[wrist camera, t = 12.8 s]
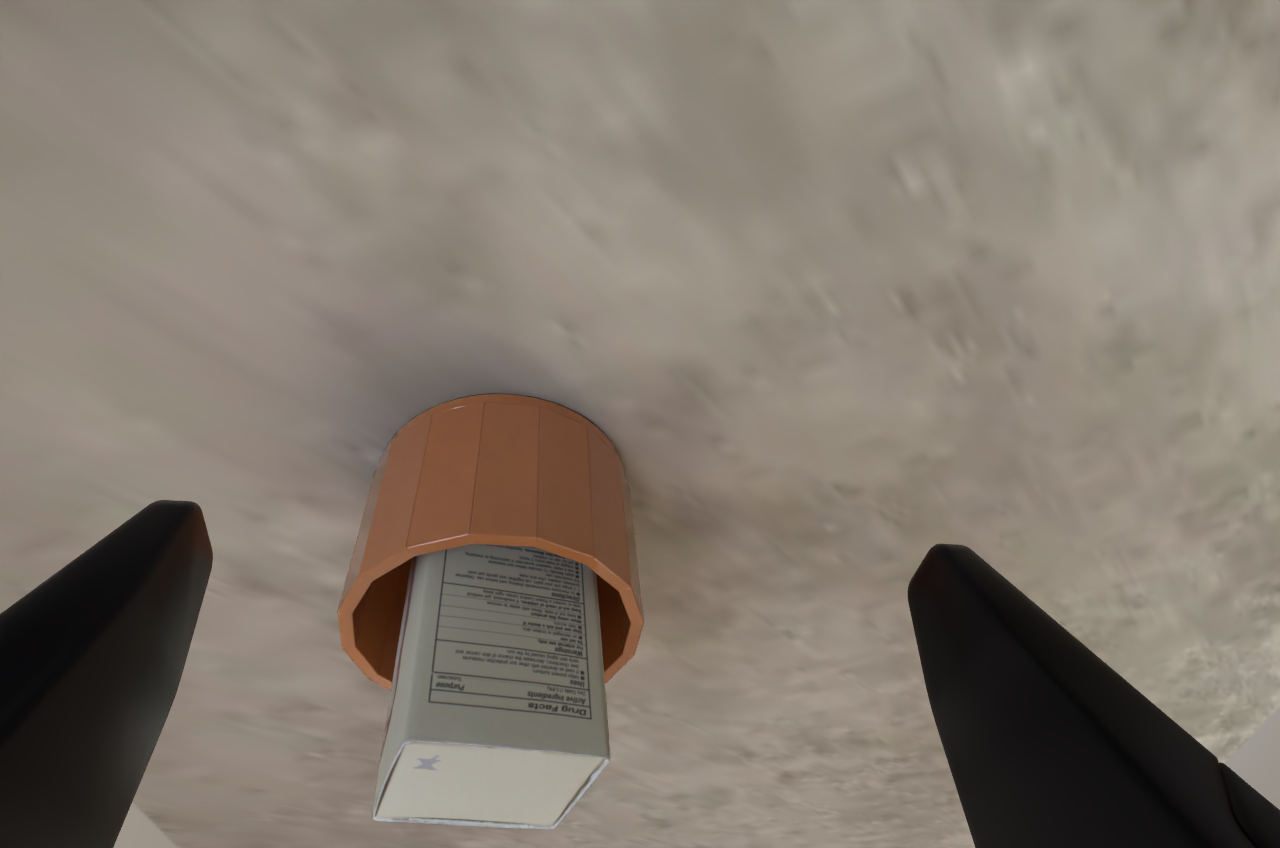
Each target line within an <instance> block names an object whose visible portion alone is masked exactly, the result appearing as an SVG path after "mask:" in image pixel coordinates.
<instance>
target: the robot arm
mask: <svg viewBox="0 0 1280 848" xmlns="http://www.w3.org/2000/svg"><path fill="white" fill-rule="evenodd" d="M212 560H213V553H212V547H211V543H210V540H209V536H208V532H207V528H206V524H205V521H204V517H203V513H202V510H201V508H200V507H199V505H198V504H196V503H194V502H190V501H172V500H159V501H156V502H154V503H151V504H150V505H148V506H147V507H146V508H144V509H143V510H141V511H140V512H139V513H137V514H136V515H135V516H133V517H132V518H131V519H129V520H128V521H126V522H125V523H124V524H122V525H121V526H120V527H118V528H117V529H116V530H114V531H113V532H111V533H110V534H109V535H107V536H106V537H105V538H103V539H102V540H101V541H99V542H98V543H96V544H95V545H94V546H92V547H91V548H90V549H88V550H87V551H86V552H84V553H83V554H81V555H80V556H79V557H77V558H76V559H75V560H73V561H72V562H71V563H69V564H68V565H66V566H65V567H64V568H62V569H61V570H60V571H58V572H57V573H56V574H54V575H53V576H51V577H50V578H49V579H47V580H46V581H45V582H43V583H42V584H41V585H39V586H38V587H37V588H35V589H34V590H32V591H31V592H30V593H28V594H27V595H26V596H24V597H23V598H22V599H20V600H19V601H17V602H16V603H15V604H13V605H12V606H11V607H9V608H8V609H7V610H5V611H4V612H2V613H1V614H0V848H113V847H114V844H115V842H116V839H117V837H118V835H119V832H120V830H121V827H122V825H123V823H124V820H125V818H126V815H127V813H128V810H129V808H130V806H131V803H132V801H133V798H134V796H135V794H136V791H137V789H138V786H139V784H140V781H141V779H142V777H143V774H144V772H145V769H146V767H147V765H148V762H149V760H150V757H151V755H152V753H153V750H154V748H155V745H156V743H157V740H158V738H159V736H160V733H161V731H162V728H163V726H164V724H165V721H166V719H167V716H168V714H169V711H170V708H171V706H172V703H173V701H174V698H175V695H176V692H177V689H178V686H179V682H180V679H181V676H182V672H183V669H184V665H185V662H186V658H187V654H188V651H189V647H190V644H191V640H192V637H193V633H194V629H195V626H196V622H197V619H198V615H199V612H200V608H201V605H202V601H203V597H204V594H205V590H206V587H207V583H208V580H209V576H210V572H211V568H212ZM908 602H909V607H910V612H911V617H912V622H913V626H914V631H915V636H916V641H917V645H918V650H919V655H920V660H921V665H922V669H923V674H924V679H925V684H926V689H927V693H928V697H929V701H930V705H931V709H932V712H933V715H934V719H935V722H936V726H937V729H938V732H939V735H940V738H941V741H942V744H943V747H944V751H945V754H946V757H947V760H948V763H949V766H950V769H951V772H952V776H953V779H954V782H955V785H956V788H957V791H958V794H959V797H960V801H961V804H962V807H963V810H964V813H965V816H966V819H967V823H968V826H969V829H970V832H971V835H972V838H973V841H974V844H975V848H1280V810H1279V809H1278V808H1276V807H1275V806H1274V805H1273V804H1272V803H1270V802H1269V801H1268V800H1267V799H1266V798H1264V797H1263V796H1262V795H1261V794H1259V793H1258V792H1257V791H1256V790H1255V789H1253V788H1252V787H1251V786H1250V785H1248V783H1246V782H1245V781H1244V780H1243V779H1242V778H1241V777H1239V776H1238V775H1237V774H1236V773H1235V772H1233V771H1232V770H1231V769H1230V768H1229V767H1227V766H1226V765H1225V764H1224V763H1218V759H1217V758H1216V757H1215V756H1214V755H1213V754H1212V753H1211V752H1210V751H1208V750H1207V749H1206V748H1205V747H1204V746H1203V745H1201V744H1200V743H1199V742H1198V741H1197V740H1195V739H1194V738H1193V737H1192V736H1191V735H1190V734H1188V733H1187V732H1186V731H1185V730H1184V729H1182V728H1181V727H1180V726H1179V725H1178V724H1177V723H1175V722H1174V721H1173V720H1172V719H1171V718H1169V717H1168V716H1167V715H1166V714H1165V713H1164V712H1162V711H1161V710H1160V709H1159V708H1158V707H1156V706H1155V705H1154V704H1153V703H1152V702H1151V701H1149V700H1148V699H1147V698H1146V697H1145V696H1144V695H1142V694H1141V693H1140V692H1139V691H1138V690H1136V689H1135V688H1134V687H1133V686H1132V685H1131V684H1129V683H1128V682H1127V681H1126V680H1125V679H1123V678H1122V677H1121V676H1120V675H1119V674H1118V673H1116V672H1115V671H1114V670H1113V669H1112V668H1110V667H1109V666H1108V665H1107V664H1106V663H1105V662H1103V661H1102V660H1101V659H1100V658H1099V657H1097V656H1096V655H1095V654H1094V653H1093V652H1092V651H1090V650H1089V649H1088V648H1087V647H1086V646H1084V645H1083V644H1082V643H1081V642H1080V641H1079V640H1077V639H1076V638H1075V637H1074V636H1073V635H1071V634H1070V633H1069V632H1068V631H1067V630H1066V629H1064V628H1063V627H1062V626H1061V625H1060V624H1058V623H1057V622H1056V621H1055V620H1054V619H1053V618H1051V617H1050V616H1049V615H1048V614H1047V613H1046V612H1044V611H1043V610H1042V609H1041V608H1040V607H1038V606H1037V605H1036V604H1035V603H1034V602H1033V601H1031V600H1030V599H1029V598H1028V597H1027V596H1025V595H1024V594H1023V593H1022V592H1021V591H1020V590H1018V589H1017V588H1016V587H1015V586H1014V585H1012V584H1011V583H1010V582H1009V581H1008V580H1007V579H1005V578H1004V577H1003V576H1002V575H1001V574H999V573H998V572H997V571H996V570H995V569H994V568H992V567H991V566H990V565H989V564H988V563H986V562H985V561H984V560H983V559H982V558H981V557H979V556H978V555H977V554H976V553H975V552H973V551H972V550H971V549H970V548H968V547H966V546H963V545H954V544H936V545H935V546H933V547H932V548H931V549H930V550H929V551H928V553H927V555H926V556H925V558H924V559H923V561H922V563H921V564H920V566H919V568H918V569H917V571H916V572H915V574H914V576H913V577H912V579H911V581H910V583H909V587H908Z"/></svg>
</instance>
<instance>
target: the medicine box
mask: <svg viewBox="0 0 1280 848" xmlns="http://www.w3.org/2000/svg"><path fill="white" fill-rule="evenodd" d="M609 762H610V747H609V729H608V718H607V702H606V691H605V680H604V666H603V656H602V641H601V629H600V613H599V603H598V590H597V580H596V573H595V572H594V571H592V570H591V569H590V568H589V567H588V566H586V565H585V564H582V563H579V562H576V561H573V560H570V559H567V558H564V557H561V556H558V555H555V554H553V553H550V552H547V551H544V550H541V549H538V548H535V547H524V546H504V545H484V544H469V545H465V546H460V547H456V548H451V549H446V550H442V551H437V552H433V553H428V554H423V555H419V556H414V557H413V558H411V564H410V570H409V577H408V583H407V590H406V597H405V603H404V610H403V616H402V623H401V629H400V635H399V642H398V648H397V654H396V661H395V667H394V674H393V680H392V687H391V693H390V700H389V706H388V712H387V719H386V726H385V733H384V740H383V746H382V752H381V759H380V766H379V773H378V779H377V786H376V792H375V798H374V805H373V813H372V818H373V819H374V820H376V821H386V822H387V821H390V822H412V823H414V822H417V823H429V824H446V825H462V826H486V827H504V828H534V829H537V828H540V829H548V830H553V829H554V828H555V827H556V826H557V825H558V823H559V822H560V821H561V820H562V818H563V817H565V815H566V814H567V813H568V812H569V811H570V810H571V809H572V807H573V806H574V805H575V804H576V803H577V801H578V800H579V799H580V798H581V797H582V795H583V794H584V793H585V792H586V790H587V789H588V788H589V787H590V786H591V785H592V783H593V782H594V781H595V780H596V778H597V777H598V776H599V774H600V773H601V772H602V771H603V769H604V768H605V767H606V766H607V764H608V763H609Z"/></svg>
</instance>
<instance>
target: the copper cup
mask: <svg viewBox="0 0 1280 848" xmlns="http://www.w3.org/2000/svg"><path fill="white" fill-rule="evenodd" d="M469 544H484V545H504V546H524V547H535V548H538V549H541V550H544V551H547V552H550V553H553V554H555V555H558V556H561V557H564V558H567V559H570V560H573V561H576V562H579V563H582V564H585V565H586V566H588V567H589V568H590V569H591V570H592V571H594V572H595V573H596V580H597V590H598V603H599V613H600V629H601V641H602V656H603V666H604V680H605V683H607V682H608V681H609V680H610V679H611V678H612V677H613V676H614V675H615V674H616V673H617V672H618V671H619V670H620V669H621V668H622V667H623V666H624V665H625V664H626V663H627V662H628V661H629V660H630V659H631V658H632V657H633V656H634V655H635V651H636V648H637V645H638V641H639V638H640V634H641V631H642V628H643V624H644V616H643V606H642V597H641V588H640V579H639V570H638V560H637V551H636V542H635V533H634V524H633V514H632V505H631V496H630V489H629V486H628V483H627V478H626V473H625V469H624V465H623V462H622V460H621V458H620V455H619V453H618V452H617V450H616V448H615V447H614V445H613V444H612V442H611V441H610V440H609V439H608V438H607V437H606V435H605V434H604V433H603V432H602V431H601V430H600V429H598V428H597V427H596V426H595V425H594V424H593V423H591V422H590V421H588V420H587V419H585V418H584V417H582V416H581V415H579V414H578V413H576V412H574V411H572V410H570V409H567V408H565V407H563V406H561V405H558V404H555V403H552V402H550V401H546V400H542V399H538V398H534V397H529V396H522V395H514V394H485V395H475V396H469V397H463V398H459V399H455V400H452V401H448V402H445V403H442V404H440V405H438V406H435V407H433V408H430V409H428V410H426V411H425V412H423V413H421V414H420V415H418V416H416V417H415V418H413V419H412V420H411V421H409V422H408V423H407V424H406V425H404V426H403V427H402V428H401V429H400V430H399V431H398V432H397V433H396V434H395V435H394V437H393V438H392V439H391V441H390V442H389V444H388V445H387V447H386V448H385V450H384V453H383V455H382V457H381V460H380V463H379V466H378V468H377V470H376V471H375V473H374V476H373V480H372V483H371V487H370V491H369V495H368V498H367V502H366V506H365V510H364V513H363V517H362V521H361V525H360V528H359V532H358V536H357V540H356V544H355V547H354V551H353V555H352V559H351V562H350V566H349V570H348V574H347V577H346V581H345V585H344V589H343V592H342V596H341V600H340V604H339V607H338V611H337V613H338V622H339V630H340V638H341V646H342V649H343V650H344V651H345V652H346V654H347V655H348V656H349V657H350V658H351V660H352V661H353V662H354V663H355V664H356V665H357V667H358V668H359V669H360V670H361V671H362V672H363V674H364V675H365V676H366V677H367V678H368V679H369V680H371V681H373V682H375V683H376V684H378V685H380V686H382V687H384V688H386V689H388V690H390V691H391V687H392V680H393V674H394V667H395V661H396V654H397V648H398V642H399V635H400V629H401V623H402V616H403V610H404V603H405V597H406V590H407V583H408V577H409V570H410V564H411V558H413V557H414V556H419V555H423V554H428V553H433V552H437V551H442V550H446V549H451V548H456V547H460V546H465V545H469Z"/></svg>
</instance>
